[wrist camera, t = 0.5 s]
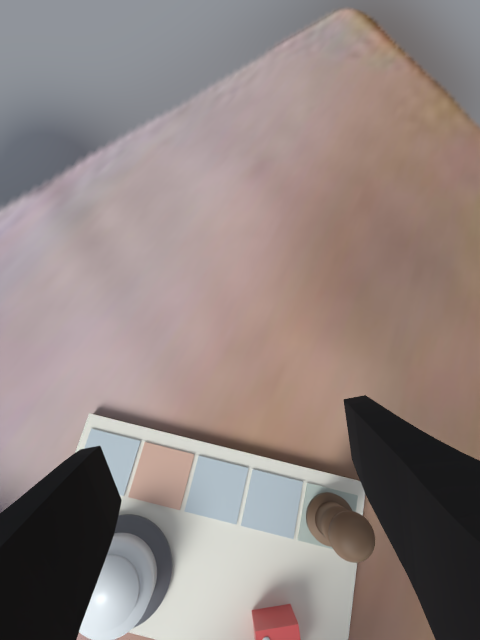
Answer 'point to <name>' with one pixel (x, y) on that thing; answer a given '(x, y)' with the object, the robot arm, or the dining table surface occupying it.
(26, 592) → the robot arm
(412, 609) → the dining table surface
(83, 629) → the dome
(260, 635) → the red die
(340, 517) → the pawn
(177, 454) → the game board
